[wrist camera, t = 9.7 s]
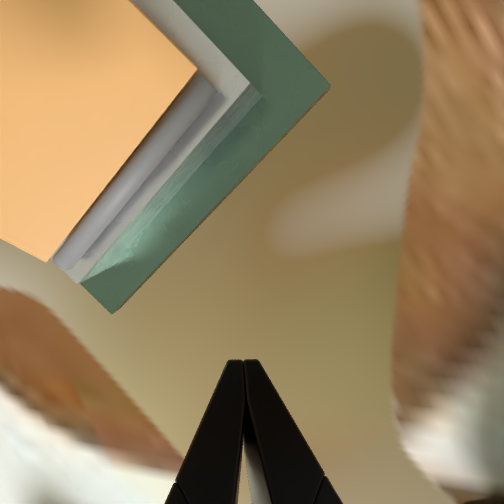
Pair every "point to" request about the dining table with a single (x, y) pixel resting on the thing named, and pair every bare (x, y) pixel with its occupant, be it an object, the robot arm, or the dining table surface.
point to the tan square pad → (83, 117)
